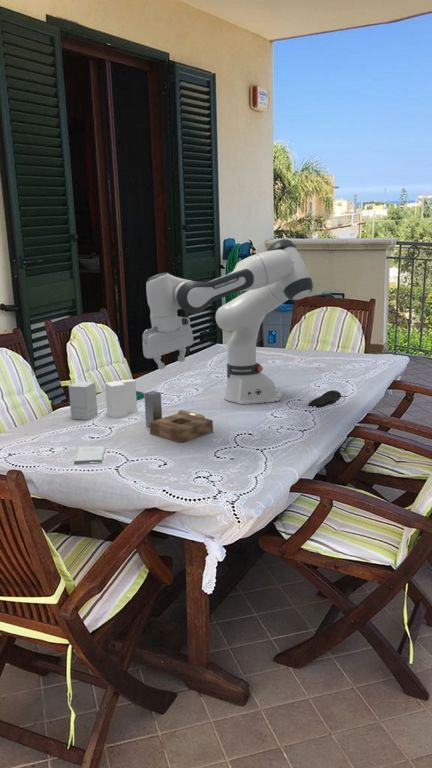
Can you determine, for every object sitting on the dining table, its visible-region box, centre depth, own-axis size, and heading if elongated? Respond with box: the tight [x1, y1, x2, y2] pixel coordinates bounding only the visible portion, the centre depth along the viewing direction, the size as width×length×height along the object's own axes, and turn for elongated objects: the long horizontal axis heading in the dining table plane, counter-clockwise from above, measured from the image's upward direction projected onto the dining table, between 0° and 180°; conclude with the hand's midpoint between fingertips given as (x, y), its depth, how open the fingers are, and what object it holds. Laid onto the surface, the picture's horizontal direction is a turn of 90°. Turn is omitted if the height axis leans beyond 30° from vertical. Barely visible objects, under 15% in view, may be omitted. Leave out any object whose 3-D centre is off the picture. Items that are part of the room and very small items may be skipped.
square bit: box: [143, 390, 163, 428], centre depth 228 cm, size 4×4×12 cm
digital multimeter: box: [136, 390, 145, 401], centre depth 262 cm, size 7×15×3 cm, turn 150°
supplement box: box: [68, 381, 99, 421], centre depth 241 cm, size 7×7×13 cm
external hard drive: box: [73, 445, 106, 464], centre depth 201 cm, size 2×8×12 cm
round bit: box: [177, 409, 206, 418], centre depth 231 cm, size 10×4×4 cm
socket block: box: [149, 412, 214, 444], centre depth 221 cm, size 15×15×4 cm
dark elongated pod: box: [307, 389, 342, 409], centre depth 255 cm, size 22×7×3 cm, turn 146°
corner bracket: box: [104, 378, 138, 419], centre depth 246 cm, size 11×11×12 cm
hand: (171, 365), depth 217 cm, fingers open, 8 cm apart
